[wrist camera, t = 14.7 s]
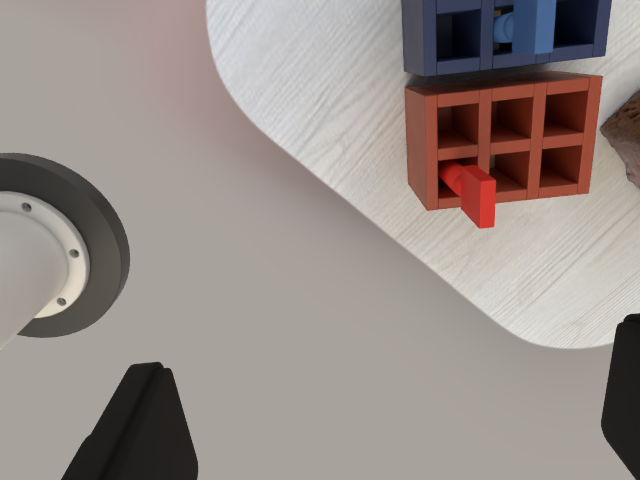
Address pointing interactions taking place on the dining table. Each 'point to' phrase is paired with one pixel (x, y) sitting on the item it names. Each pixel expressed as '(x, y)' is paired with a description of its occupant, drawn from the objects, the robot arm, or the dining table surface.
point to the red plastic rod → (471, 190)
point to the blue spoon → (527, 27)
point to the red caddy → (504, 134)
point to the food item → (626, 136)
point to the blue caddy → (477, 35)
